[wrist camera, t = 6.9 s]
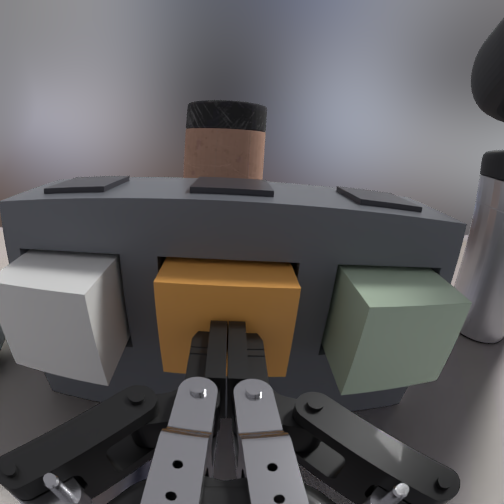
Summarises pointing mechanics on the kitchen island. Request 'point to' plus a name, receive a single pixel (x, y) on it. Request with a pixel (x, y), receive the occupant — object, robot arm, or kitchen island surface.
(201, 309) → the block
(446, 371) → the kitchen island surface
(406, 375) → the block
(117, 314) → the block
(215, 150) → the travel mug
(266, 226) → the grey switch box
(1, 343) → the air freshener
